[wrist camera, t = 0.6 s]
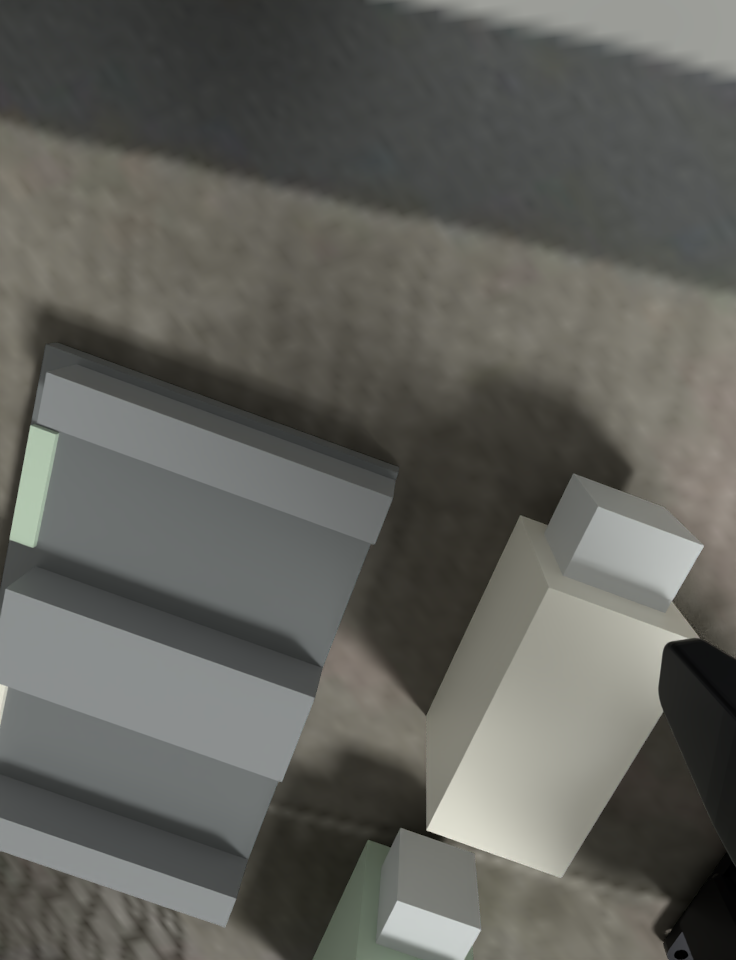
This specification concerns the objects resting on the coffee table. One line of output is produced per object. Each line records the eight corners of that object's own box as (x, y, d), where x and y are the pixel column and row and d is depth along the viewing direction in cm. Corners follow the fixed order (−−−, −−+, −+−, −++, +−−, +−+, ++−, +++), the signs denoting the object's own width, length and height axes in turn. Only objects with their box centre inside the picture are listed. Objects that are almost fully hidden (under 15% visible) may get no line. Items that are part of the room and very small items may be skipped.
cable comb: (399, 467, 20) (396, 489, 18) (239, 878, 25) (223, 932, 23) (56, 342, 20) (12, 350, 17) (-29, 785, 25) (-70, 832, 23)
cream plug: (532, 752, 23) (561, 877, 18) (426, 713, 23) (426, 830, 18) (669, 501, 20) (747, 573, 15) (546, 455, 20) (585, 513, 15)
